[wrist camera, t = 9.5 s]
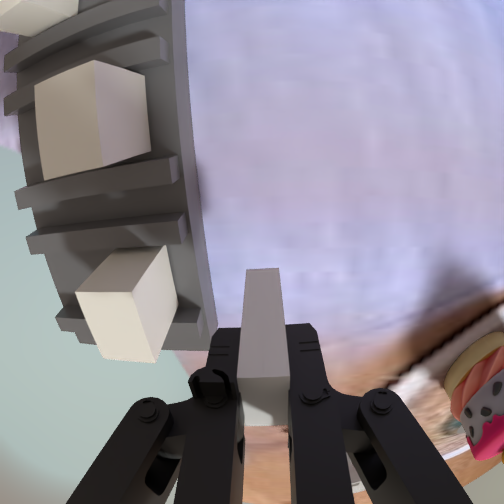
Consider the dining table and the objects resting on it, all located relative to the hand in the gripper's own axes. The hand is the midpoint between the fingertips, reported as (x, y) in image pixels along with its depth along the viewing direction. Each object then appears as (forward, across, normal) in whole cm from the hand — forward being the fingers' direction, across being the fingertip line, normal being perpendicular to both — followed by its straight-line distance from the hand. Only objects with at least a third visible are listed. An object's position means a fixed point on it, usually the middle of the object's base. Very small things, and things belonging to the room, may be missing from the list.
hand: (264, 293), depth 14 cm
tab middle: (+2, -7, +9) cm, 11 cm away
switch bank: (+5, -9, +9) cm, 14 cm away
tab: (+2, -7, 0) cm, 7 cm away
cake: (+6, +24, -16) cm, 30 cm away
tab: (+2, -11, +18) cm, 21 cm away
